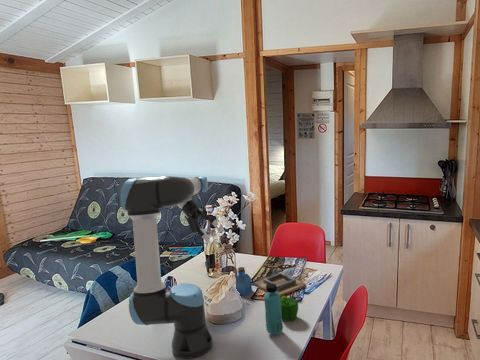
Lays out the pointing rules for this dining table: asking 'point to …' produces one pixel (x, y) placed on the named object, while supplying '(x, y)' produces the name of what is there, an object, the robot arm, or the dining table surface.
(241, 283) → the perfume bottle
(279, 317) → the beverage bottle
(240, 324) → the dining table surface
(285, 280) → the walnut stand
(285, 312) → the bell pepper
